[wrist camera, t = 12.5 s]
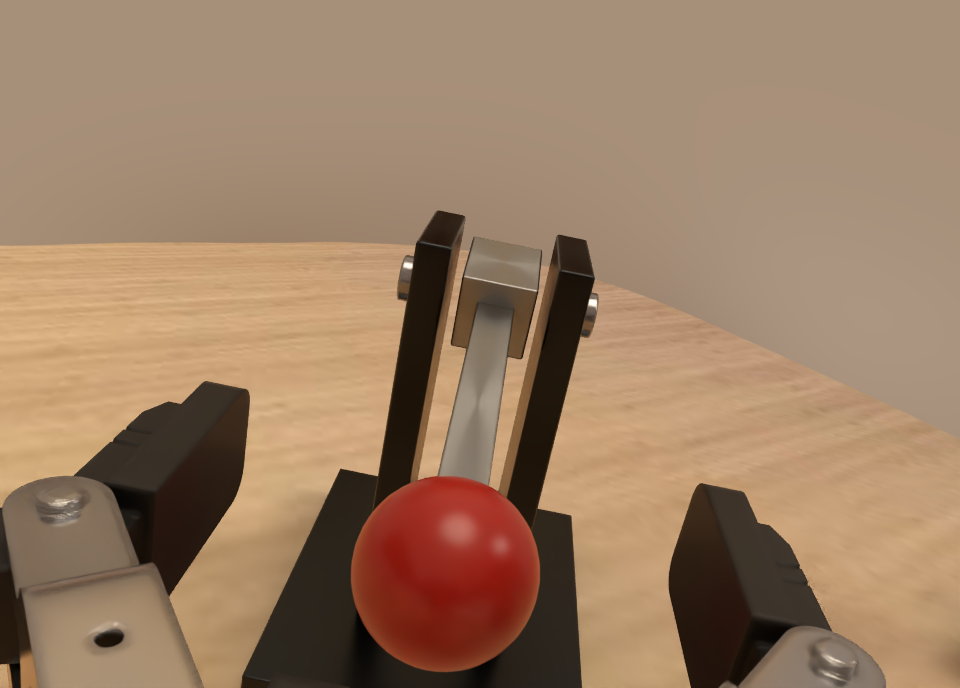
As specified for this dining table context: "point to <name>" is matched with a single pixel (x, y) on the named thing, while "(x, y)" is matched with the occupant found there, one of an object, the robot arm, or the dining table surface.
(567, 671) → the switch bracket
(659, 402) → the dining table surface
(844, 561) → the dining table surface
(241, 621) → the dining table surface
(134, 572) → the robot arm
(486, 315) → the lever
